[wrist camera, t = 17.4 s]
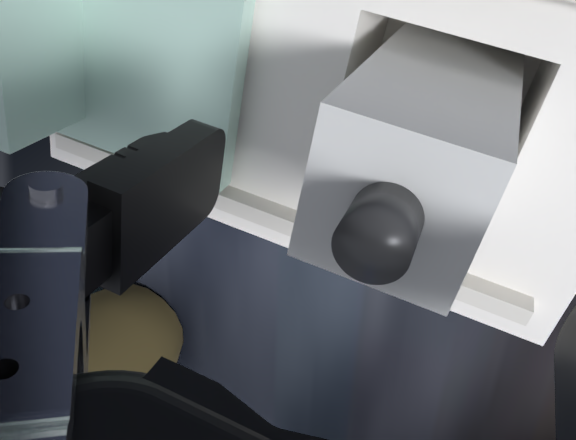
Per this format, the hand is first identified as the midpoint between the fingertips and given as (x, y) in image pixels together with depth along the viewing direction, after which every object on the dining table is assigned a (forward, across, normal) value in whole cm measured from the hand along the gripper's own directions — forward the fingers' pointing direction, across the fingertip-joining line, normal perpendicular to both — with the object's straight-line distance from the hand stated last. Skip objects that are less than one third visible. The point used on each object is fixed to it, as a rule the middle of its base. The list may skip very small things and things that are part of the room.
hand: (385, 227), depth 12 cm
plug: (+11, 0, 0) cm, 11 cm away
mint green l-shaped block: (+5, +10, 0) cm, 11 cm away
